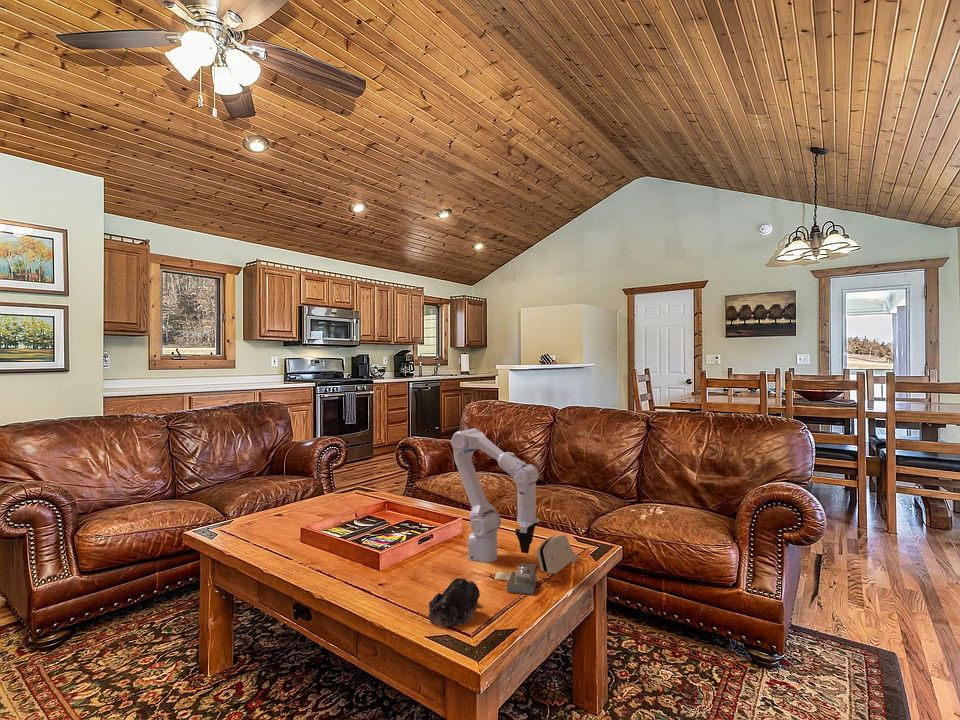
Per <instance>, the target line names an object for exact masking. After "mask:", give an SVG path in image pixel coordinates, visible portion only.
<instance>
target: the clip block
mask: <svg viewBox="0 0 960 720" xmlns="http://www.w3.org/2000/svg"><path fill="white" fill-rule="evenodd" d="M515 577H516V584H518V585H529V586H530V585H531V581H532V567H527V566H526V565H521V566H520V565H518V566H517V569H516V571H515Z"/></svg>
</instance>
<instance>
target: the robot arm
mask: <svg viewBox="0 0 960 720" xmlns="http://www.w3.org/2000/svg"><path fill="white" fill-rule="evenodd" d="M450 445H451V447H452V451H453V459H454V463H455V465H456V468H457V471H458V473H459V476H460V478H461V481H462V485H463V488H464V491H465V493H466V496H467V497H468V498H467V499H468V500H469V503H470V507H471V511H470V513H469V516H468V517H469V521H470V529H471V532H470V533H469V536H468V540H467V541H468V542H467V548H468V550H467V555H468V556H467V560H468V561H474V562H480V563H493V562H495V561H496V560H497V559H498V530H499V529H500V526H501V525H502V519H501V516H500V514H499V513H498V512H497V510H496V509H495V506H494V505H493V504H491V503H489V502H488V500H487V497H486V495H485V493H484V490H483V486H482V484H481V482H480V479H479V476H478V473H477V472H476V469H475V466H474V463H473V461H472V457H473V455H474V452H475V451H476V450H480V451H482V452H483V453H485V454H486V455H488V456H490V457H491V458H492V459H494V460H495V461H496V462H497V463H498V468H500V469H502V470H503V471H504V472H506V473H507V474H508V475H510V476H511V477H512V478H513V481H514V483H515V484H516V485H515V486H516V490H517V493H516V494H517V498H516V499H517V502H516V503H517V506H516V507H517V518H516V522H517V523H518V525H519V528H515V531H514V532H515V535H516V538H517V540H518V543H519V549H520V553H523V554H528V553H529V551H530V545H531V544H532V542H533V538H534V533H535V528H536V526H537V523H540V518H537V516H536V515H537V514H536V513H537V508H536V506H537V505H536V504H537V502H536V501H537V500H536V499H537V498H536V497H537V495H536V491H537V490H536V489H537V488H536V487H537V485H536V484H537V483H536V482H537V481H538V480H539V477H540V473H539V470H538V468H537V467H536V466H535V465H534V464H532V463H531V464H530V463H529V464H527V462H525V461H522V460H521V459H520V458H518V457H517V456H515V455H516V454H515V453H514V452H510V451H506V452H504V451H503V450H502V449H500V448H499V447H498V446H497V445H496V444H494V443H493V442H492V441H491V440H490V439H489V438H487V437H486V435H485V433H484V432H482V431H480V430H479V429H478V428H476V427H474V428H473V427H472V428H470V429H465V430H461V431H460V430H458V431H456V432H454V433H453V435H452V437H451V440H450Z"/></svg>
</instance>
